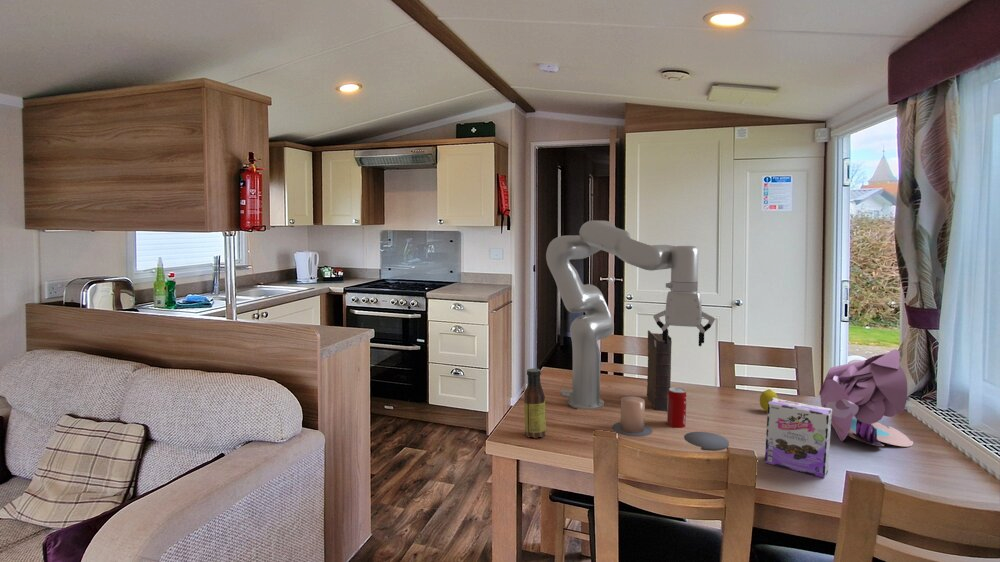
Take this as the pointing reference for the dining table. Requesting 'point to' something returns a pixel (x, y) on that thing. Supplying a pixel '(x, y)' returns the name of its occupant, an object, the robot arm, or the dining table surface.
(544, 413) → the sauce bottle
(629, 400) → the beige rounded cylinder
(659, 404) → the book
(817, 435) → the candy box
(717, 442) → the right coaster
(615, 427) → the left coaster
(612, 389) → the dining table surface
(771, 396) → the lemon
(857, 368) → the flower arrangement
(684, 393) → the soda can
